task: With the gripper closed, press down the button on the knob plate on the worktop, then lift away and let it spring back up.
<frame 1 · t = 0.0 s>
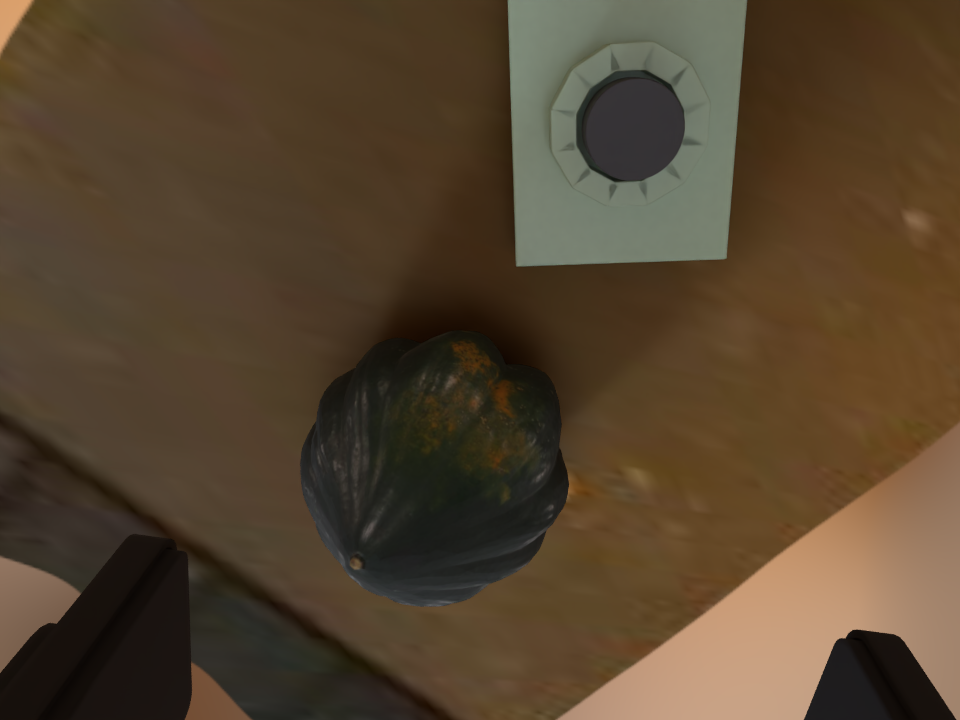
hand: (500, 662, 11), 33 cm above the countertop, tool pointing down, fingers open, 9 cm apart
knob plate: (616, 119, 39), on the countertop
button: (631, 128, 34), point 6 cm above the countertop, slide at 0.1 cm
squash: (445, 419, 46), on the countertop
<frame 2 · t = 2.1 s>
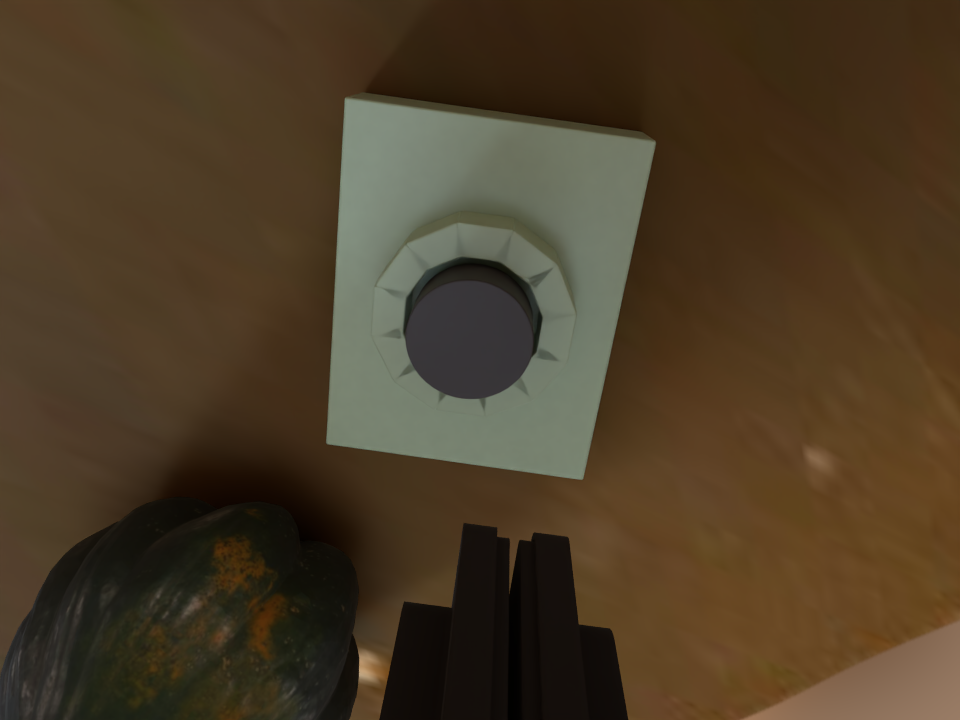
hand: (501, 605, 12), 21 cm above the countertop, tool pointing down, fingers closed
knob plate: (479, 284, 31), on the countertop
button: (471, 331, 26), point 6 cm above the countertop, slide at 0.1 cm
squash: (241, 576, 38), on the countertop
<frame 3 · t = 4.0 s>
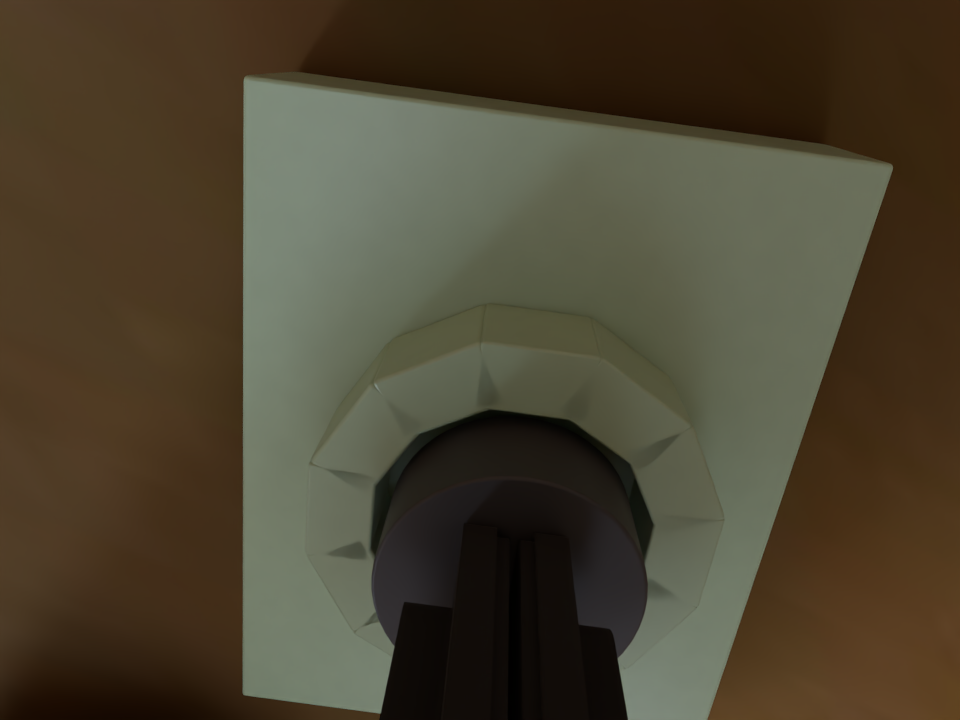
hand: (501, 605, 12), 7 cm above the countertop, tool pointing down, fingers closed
knob plate: (511, 412, 18), on the countertop
button: (508, 556, 13), point 6 cm above the countertop, slide at 0.0 cm, touching gripper
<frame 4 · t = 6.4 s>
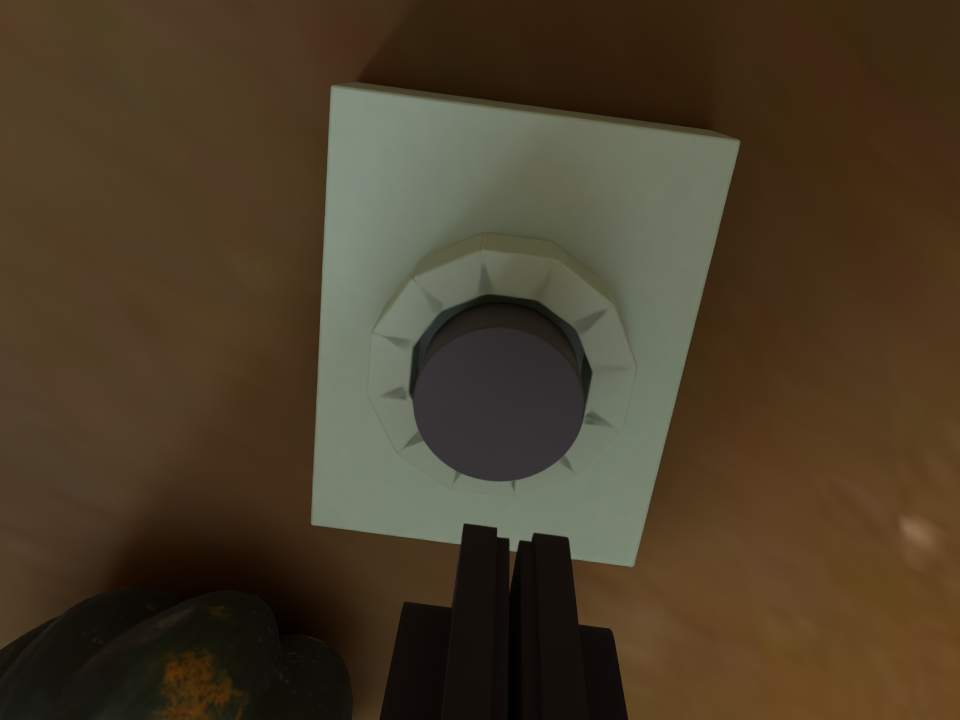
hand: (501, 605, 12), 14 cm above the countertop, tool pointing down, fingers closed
knob plate: (502, 322, 25), on the countertop
button: (499, 391, 20), point 6 cm above the countertop, slide at 0.1 cm
squash: (211, 671, 32), on the countertop
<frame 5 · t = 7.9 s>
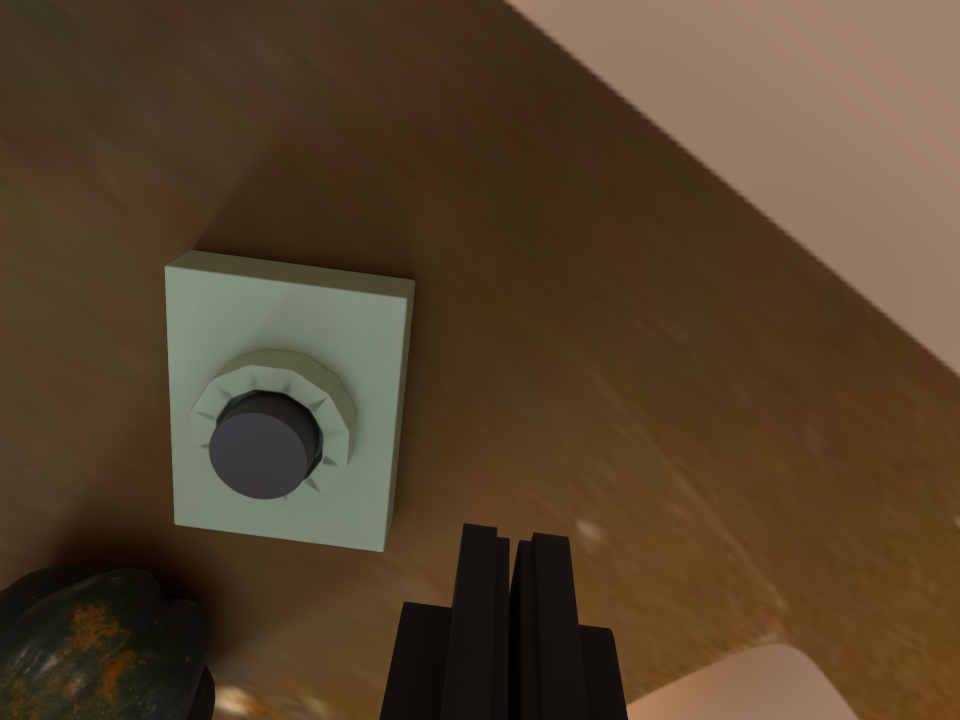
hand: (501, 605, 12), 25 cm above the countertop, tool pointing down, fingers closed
knob plate: (298, 394, 38), on the countertop
button: (265, 446, 33), point 6 cm above the countertop, slide at 0.1 cm
squash: (125, 626, 45), on the countertop
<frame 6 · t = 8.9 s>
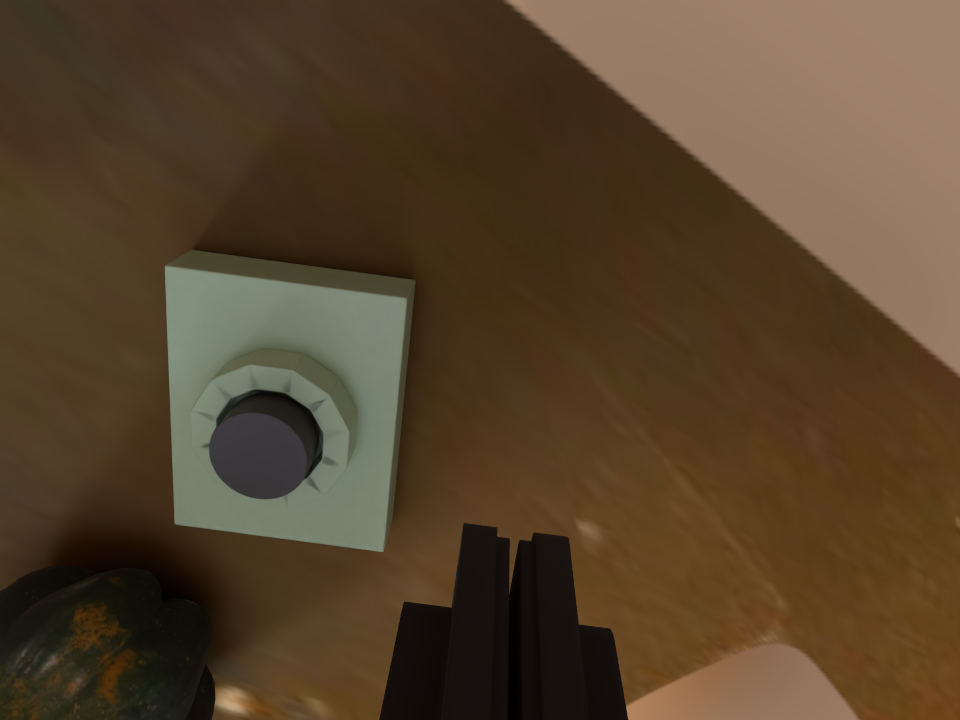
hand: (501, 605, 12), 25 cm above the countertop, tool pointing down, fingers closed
knob plate: (299, 393, 38), on the countertop
button: (265, 445, 33), point 6 cm above the countertop, slide at 0.1 cm
squash: (125, 626, 45), on the countertop
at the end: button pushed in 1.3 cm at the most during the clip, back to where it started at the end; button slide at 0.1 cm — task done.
